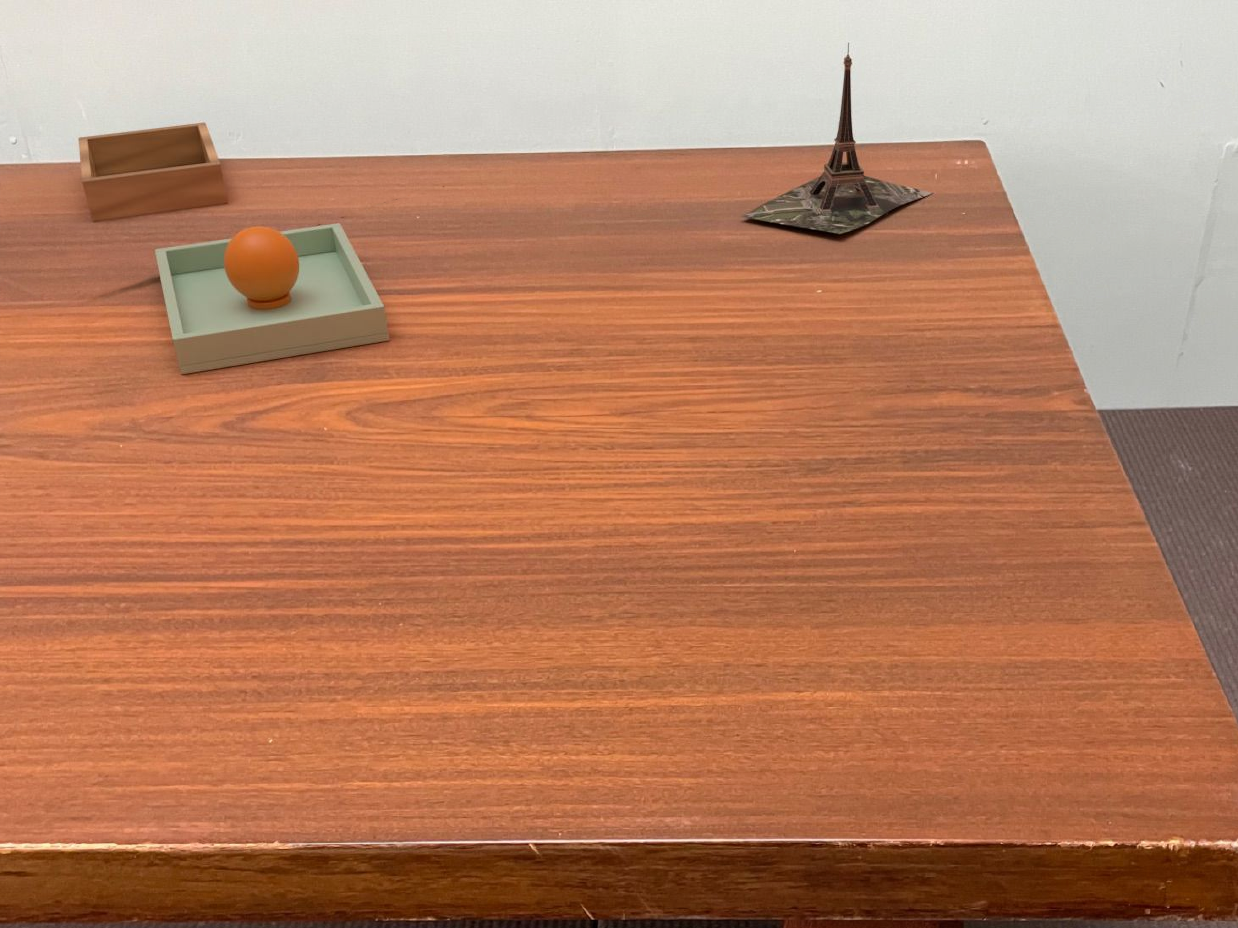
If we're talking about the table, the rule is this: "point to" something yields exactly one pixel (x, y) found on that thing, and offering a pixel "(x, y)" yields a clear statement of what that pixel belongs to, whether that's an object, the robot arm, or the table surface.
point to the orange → (262, 266)
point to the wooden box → (151, 172)
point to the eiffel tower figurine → (837, 187)
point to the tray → (237, 334)
